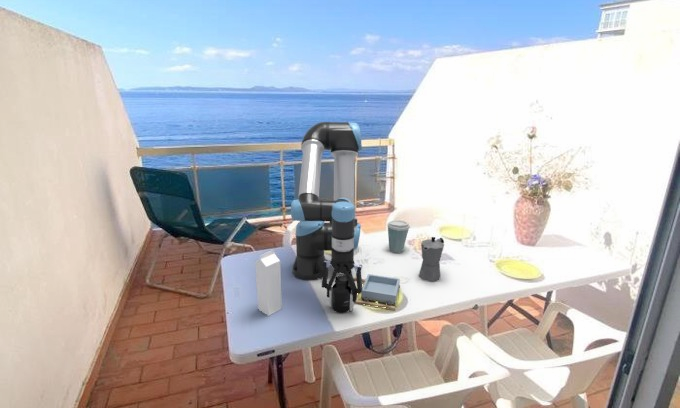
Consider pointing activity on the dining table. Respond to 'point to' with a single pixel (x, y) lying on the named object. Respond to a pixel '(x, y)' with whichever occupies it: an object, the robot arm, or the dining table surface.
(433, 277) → the coffeepot
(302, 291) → the dining table surface
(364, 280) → the wooden rack
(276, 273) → the milk
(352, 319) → the dining table surface
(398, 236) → the disposable coffee cup
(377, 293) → the shallow square tray
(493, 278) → the dining table surface
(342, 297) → the supplement bottle
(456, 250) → the dining table surface
